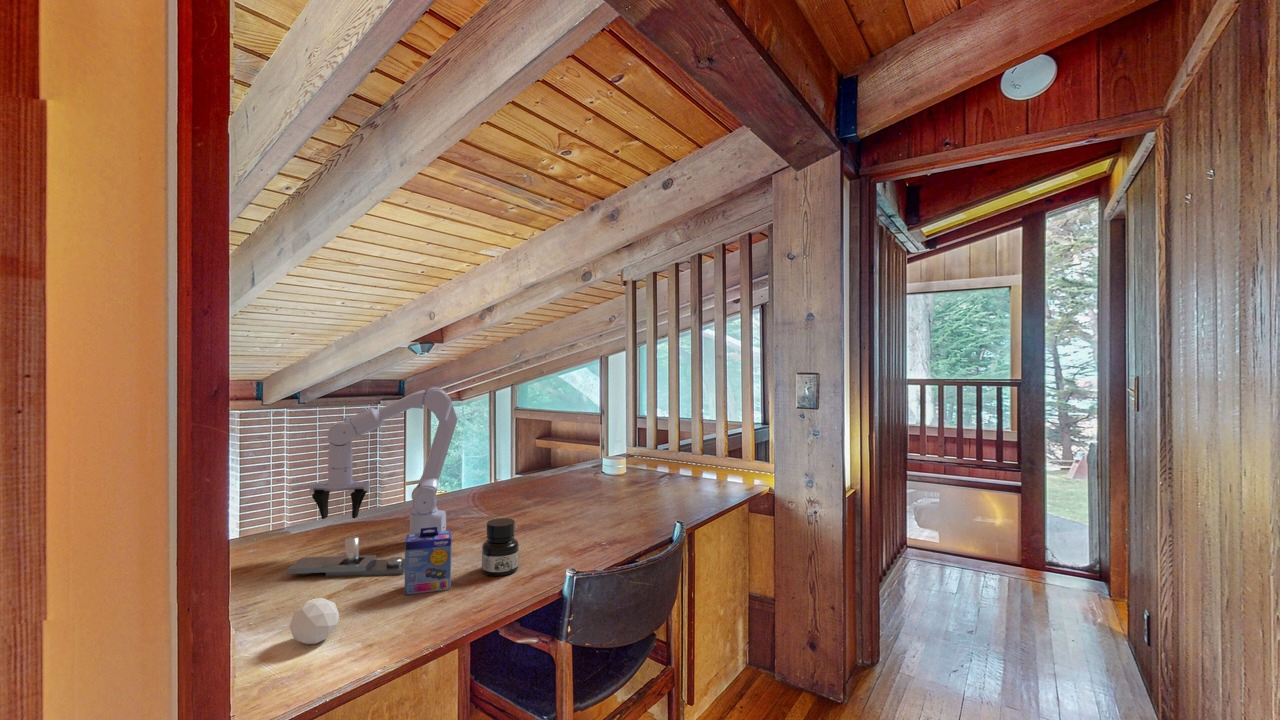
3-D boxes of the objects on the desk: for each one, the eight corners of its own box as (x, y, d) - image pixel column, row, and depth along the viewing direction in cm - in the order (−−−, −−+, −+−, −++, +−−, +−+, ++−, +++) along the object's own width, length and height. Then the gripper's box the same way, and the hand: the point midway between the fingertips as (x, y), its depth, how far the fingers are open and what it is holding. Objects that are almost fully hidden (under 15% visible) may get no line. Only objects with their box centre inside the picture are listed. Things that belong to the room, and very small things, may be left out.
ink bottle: (479, 579, 127) (480, 529, 127) (480, 565, 136) (480, 518, 136) (521, 575, 130) (521, 526, 130) (519, 561, 138) (519, 515, 138)
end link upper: (376, 564, 135) (376, 555, 135) (365, 575, 128) (365, 565, 128) (302, 567, 133) (302, 557, 133) (287, 578, 126) (287, 568, 126)
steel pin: (357, 567, 133) (358, 535, 133) (359, 571, 131) (359, 538, 131) (344, 569, 131) (344, 537, 131) (345, 574, 129) (346, 541, 129)
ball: (307, 662, 97) (280, 639, 93) (306, 628, 103) (280, 606, 99) (349, 635, 99) (324, 612, 95) (345, 604, 106) (321, 581, 101)
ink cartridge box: (403, 596, 118) (404, 531, 118) (405, 586, 123) (406, 523, 123) (451, 590, 121) (452, 526, 121) (450, 580, 126) (451, 519, 126)
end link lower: (411, 563, 136) (411, 553, 136) (402, 574, 129) (402, 564, 129) (338, 565, 134) (338, 556, 134) (325, 577, 127) (325, 567, 127)
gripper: (374, 463, 148) (373, 512, 148) (318, 464, 146) (317, 513, 146) (364, 468, 141) (364, 520, 141) (305, 469, 139) (305, 521, 139)
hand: (339, 517), depth 143 cm, fingers open, 7 cm apart
